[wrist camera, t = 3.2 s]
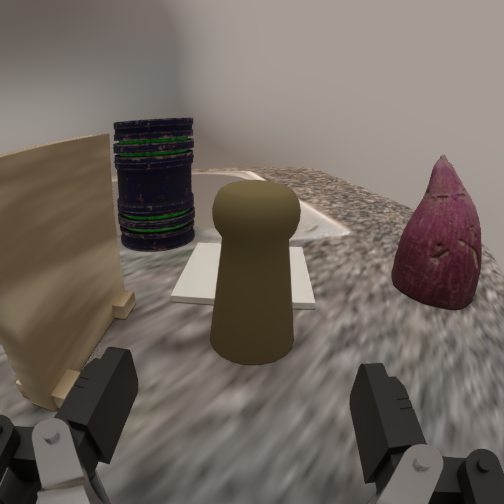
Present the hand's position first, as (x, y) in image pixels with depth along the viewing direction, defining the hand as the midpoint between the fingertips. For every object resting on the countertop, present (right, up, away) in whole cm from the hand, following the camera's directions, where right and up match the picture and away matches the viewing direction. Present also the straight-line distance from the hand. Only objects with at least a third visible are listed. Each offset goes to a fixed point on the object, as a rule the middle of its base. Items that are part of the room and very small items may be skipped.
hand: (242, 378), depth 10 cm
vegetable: (+20, +1, +20) cm, 28 cm away
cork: (0, -2, +12) cm, 13 cm away
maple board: (-12, -2, +10) cm, 16 cm away
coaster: (0, +2, +22) cm, 22 cm away
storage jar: (-12, +6, +30) cm, 33 cm away
